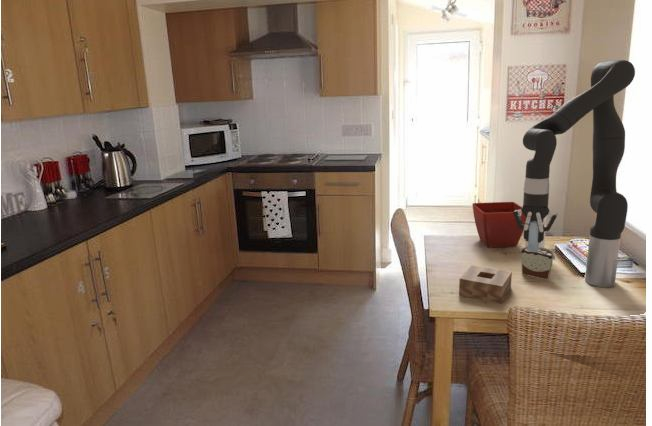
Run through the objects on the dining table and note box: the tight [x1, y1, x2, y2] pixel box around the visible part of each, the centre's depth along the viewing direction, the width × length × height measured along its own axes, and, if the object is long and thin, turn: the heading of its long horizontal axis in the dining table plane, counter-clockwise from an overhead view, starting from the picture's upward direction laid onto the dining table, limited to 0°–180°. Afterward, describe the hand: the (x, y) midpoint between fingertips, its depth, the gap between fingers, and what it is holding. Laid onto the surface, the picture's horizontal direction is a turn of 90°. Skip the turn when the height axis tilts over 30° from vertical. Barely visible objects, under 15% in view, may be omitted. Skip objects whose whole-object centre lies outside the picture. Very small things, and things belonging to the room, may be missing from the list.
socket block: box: [458, 265, 513, 304], centre depth 164 cm, size 14×14×6 cm
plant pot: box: [472, 201, 526, 248], centre depth 212 cm, size 19×19×17 cm
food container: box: [519, 246, 556, 281], centre depth 176 cm, size 12×6×10 cm, turn 47°
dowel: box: [527, 221, 539, 252], centre depth 158 cm, size 3×3×10 cm
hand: (533, 241), depth 159 cm, fingers closed on dowel, 3 cm apart
